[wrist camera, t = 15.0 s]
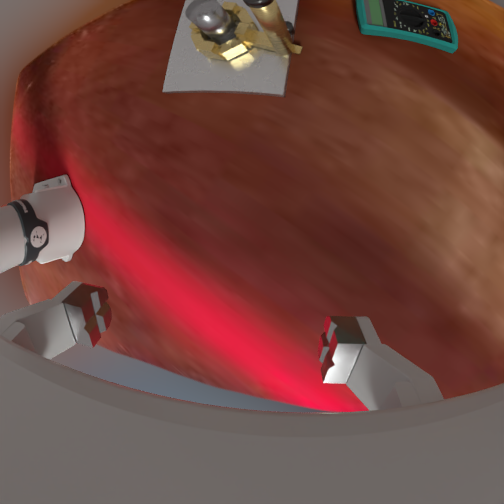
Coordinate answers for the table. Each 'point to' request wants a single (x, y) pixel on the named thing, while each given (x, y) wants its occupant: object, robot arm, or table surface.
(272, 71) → the spigot base
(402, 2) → the digital multimeter
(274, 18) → the brass metal fixture
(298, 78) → the table surface
